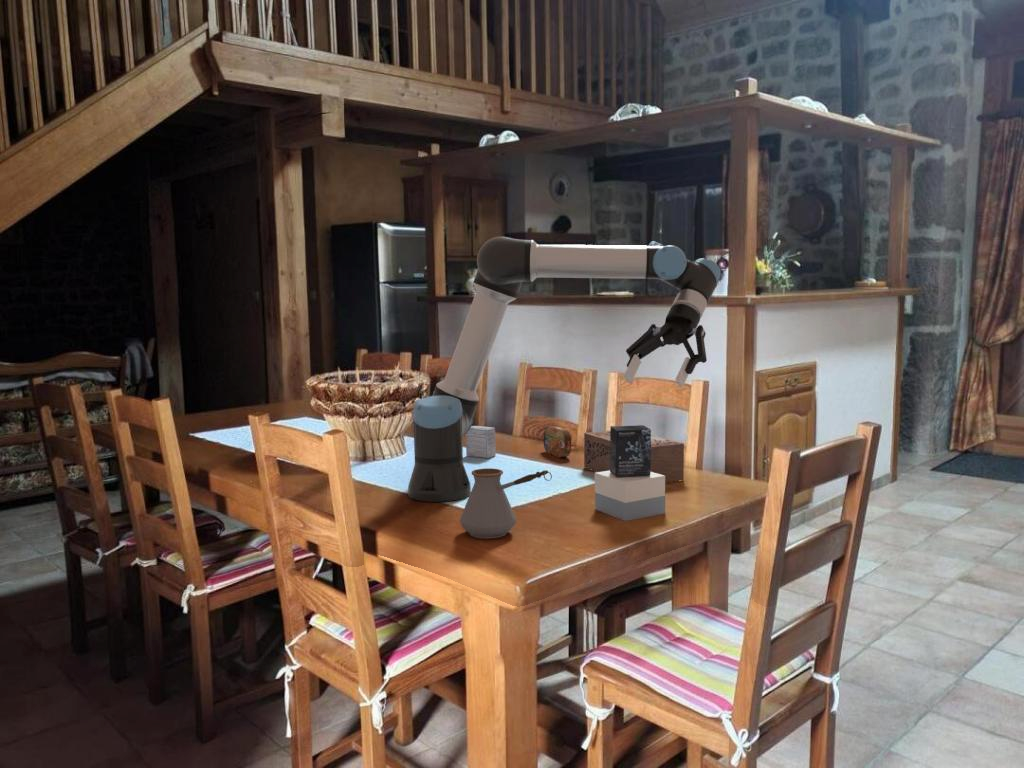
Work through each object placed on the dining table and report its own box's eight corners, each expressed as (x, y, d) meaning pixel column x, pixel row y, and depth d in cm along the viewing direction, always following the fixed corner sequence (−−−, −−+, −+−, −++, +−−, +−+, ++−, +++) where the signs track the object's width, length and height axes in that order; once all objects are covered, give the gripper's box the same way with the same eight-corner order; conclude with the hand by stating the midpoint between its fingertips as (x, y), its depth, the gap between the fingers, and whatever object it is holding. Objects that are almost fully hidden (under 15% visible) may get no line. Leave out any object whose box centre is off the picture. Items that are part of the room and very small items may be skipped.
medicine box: (496, 456, 249) (495, 427, 248) (487, 458, 245) (487, 429, 244) (474, 453, 253) (473, 425, 252) (465, 456, 249) (465, 427, 248)
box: (616, 478, 182) (616, 430, 181) (609, 472, 187) (609, 425, 186) (651, 476, 183) (651, 428, 182) (643, 470, 189) (643, 424, 187)
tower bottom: (625, 523, 179) (625, 502, 178) (595, 511, 188) (595, 492, 188) (665, 515, 184) (665, 495, 184) (634, 504, 194) (634, 485, 193)
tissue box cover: (683, 481, 215) (683, 443, 213) (636, 488, 209) (636, 448, 207) (628, 463, 238) (628, 428, 237) (584, 468, 232) (584, 432, 231)
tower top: (625, 502, 178) (625, 482, 178) (594, 492, 188) (594, 472, 187) (664, 495, 184) (665, 475, 183) (633, 485, 193) (633, 466, 193)
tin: (542, 451, 256) (542, 423, 255) (551, 450, 257) (551, 423, 256) (563, 460, 242) (563, 431, 241) (573, 459, 243) (573, 430, 242)
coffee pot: (448, 535, 170) (446, 462, 168) (484, 522, 179) (483, 453, 177) (532, 554, 157) (531, 476, 155) (567, 539, 166) (566, 465, 164)
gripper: (739, 324, 194) (707, 395, 185) (646, 322, 210) (613, 387, 201) (729, 302, 190) (696, 373, 180) (635, 302, 206) (600, 367, 196)
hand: (652, 381), depth 190 cm, fingers open, 13 cm apart
